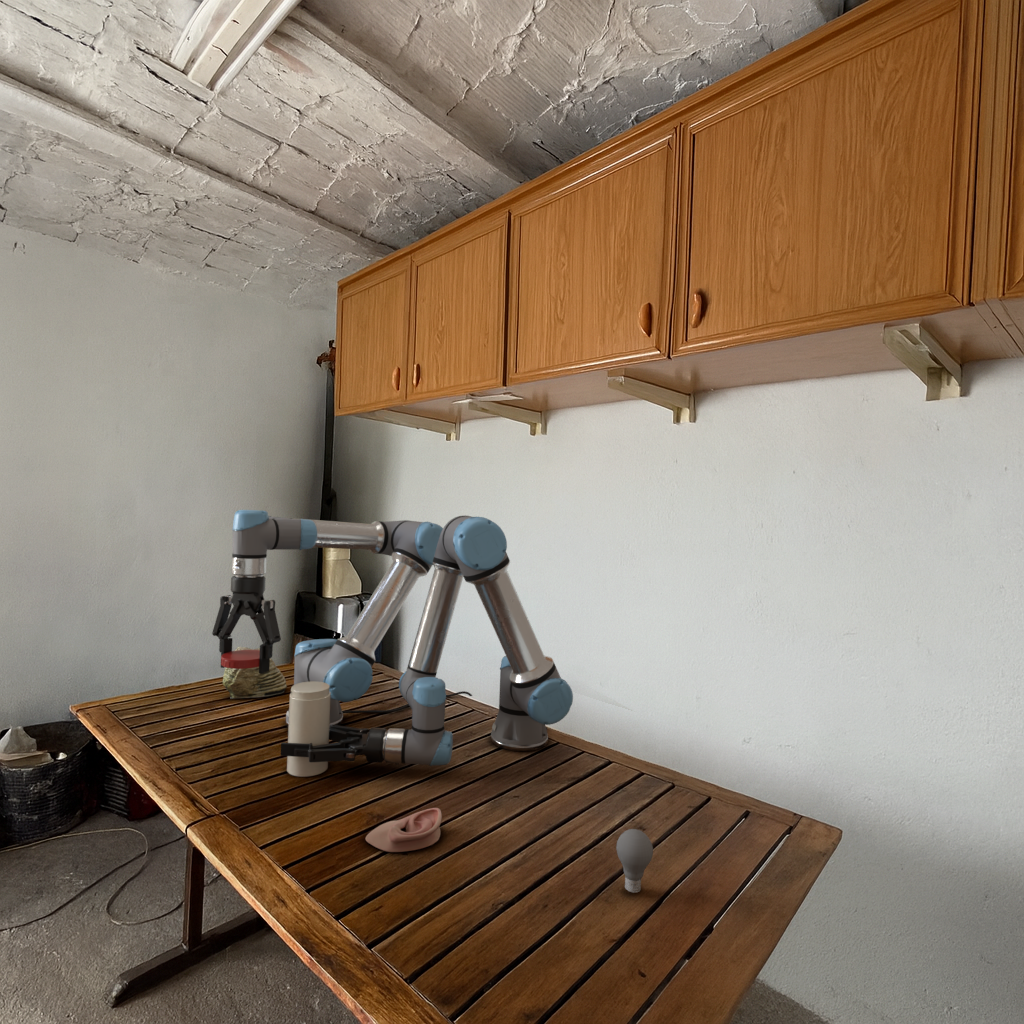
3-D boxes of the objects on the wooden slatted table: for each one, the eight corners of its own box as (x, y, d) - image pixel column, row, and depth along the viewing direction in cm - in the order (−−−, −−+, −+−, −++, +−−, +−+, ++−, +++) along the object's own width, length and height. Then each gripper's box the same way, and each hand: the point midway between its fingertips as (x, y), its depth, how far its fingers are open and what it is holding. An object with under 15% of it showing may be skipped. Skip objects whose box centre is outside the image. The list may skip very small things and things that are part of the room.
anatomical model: (358, 825, 115) (384, 797, 126) (357, 847, 115) (383, 816, 126) (428, 836, 112) (447, 806, 123) (427, 858, 112) (447, 826, 123)
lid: (277, 663, 150) (277, 655, 150) (235, 671, 142) (236, 662, 142) (252, 655, 156) (253, 647, 156) (212, 662, 148) (212, 654, 148)
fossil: (218, 695, 195) (220, 647, 195) (278, 685, 208) (279, 640, 207) (228, 703, 189) (230, 653, 188) (289, 692, 201) (290, 645, 201)
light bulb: (610, 879, 108) (613, 822, 108) (644, 879, 109) (647, 822, 109) (619, 902, 102) (622, 840, 102) (655, 901, 103) (658, 840, 103)
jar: (287, 761, 150) (290, 681, 150) (327, 758, 153) (330, 680, 153) (286, 778, 142) (289, 693, 141) (328, 774, 144) (331, 691, 144)
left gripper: (197, 573, 149) (193, 666, 149) (278, 581, 142) (274, 679, 142) (221, 570, 156) (217, 659, 156) (299, 577, 149) (295, 671, 149)
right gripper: (374, 782, 136) (270, 777, 136) (394, 743, 158) (304, 739, 158) (375, 747, 136) (271, 742, 136) (395, 713, 158) (305, 709, 158)
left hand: (244, 669), depth 149 cm, fingers closed on lid, 10 cm apart
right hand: (289, 740), depth 147 cm, fingers closed on jar, 9 cm apart
